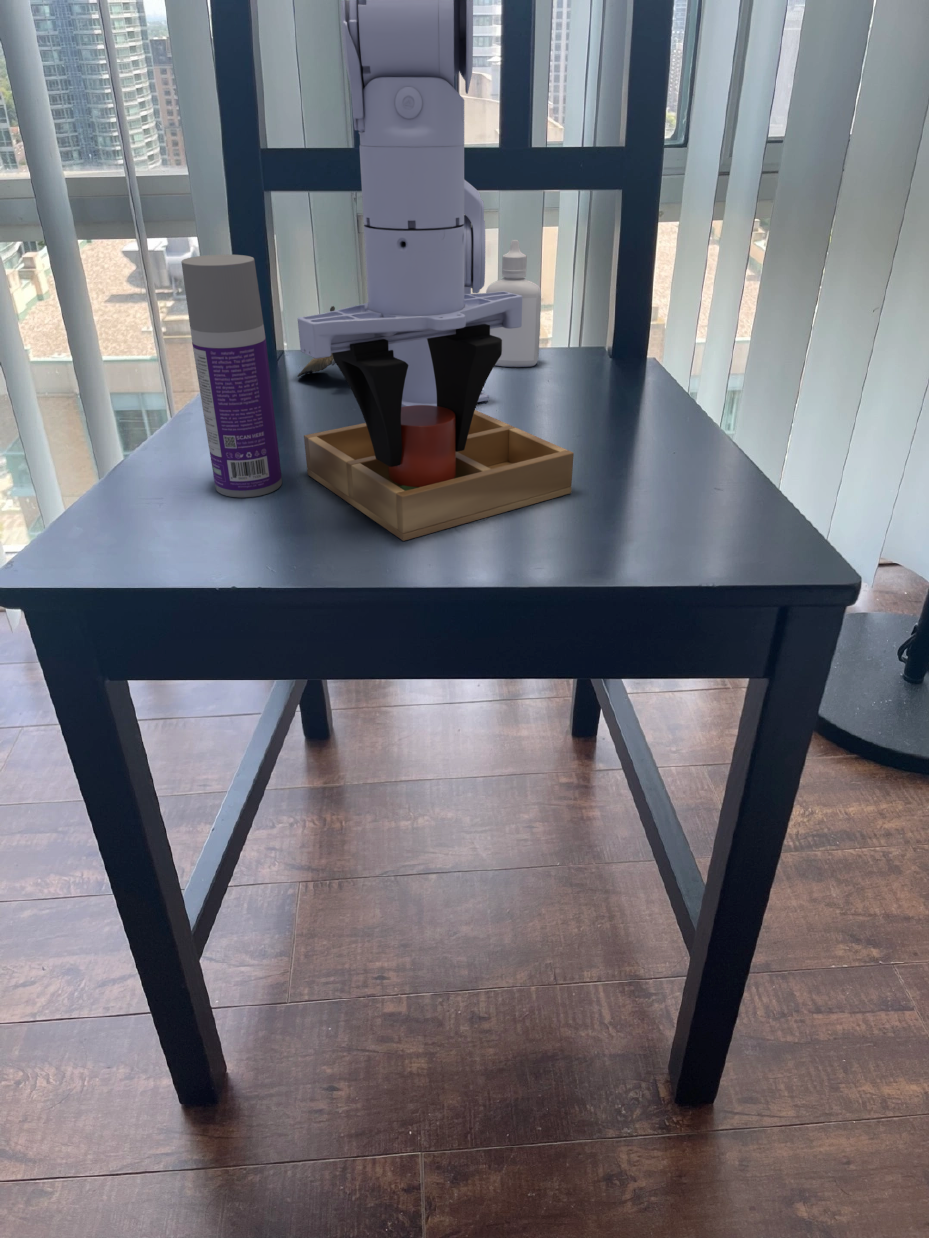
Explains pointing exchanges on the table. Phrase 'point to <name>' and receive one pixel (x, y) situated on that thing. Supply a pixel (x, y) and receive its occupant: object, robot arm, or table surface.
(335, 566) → the table surface
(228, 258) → the container
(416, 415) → the red cylinder
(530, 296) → the eye dropper bottle
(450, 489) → the grid
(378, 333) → the robot arm
